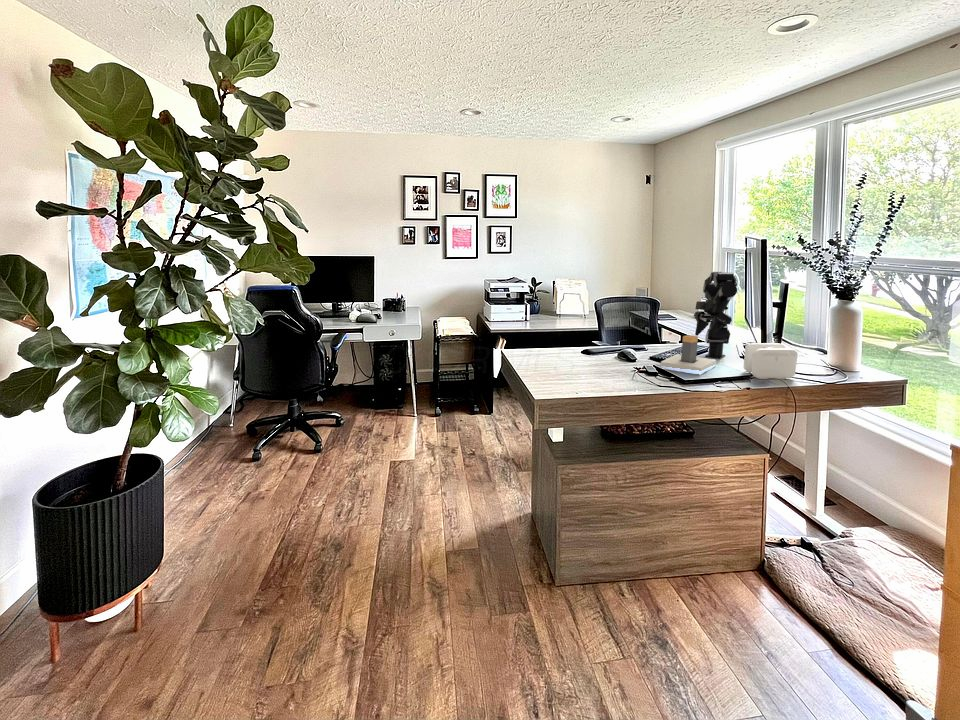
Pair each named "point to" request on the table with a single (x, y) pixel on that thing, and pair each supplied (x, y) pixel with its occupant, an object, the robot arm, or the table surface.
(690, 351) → the plug
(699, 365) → the socket block
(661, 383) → the table surface
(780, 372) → the cable organizer
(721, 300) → the robot arm
